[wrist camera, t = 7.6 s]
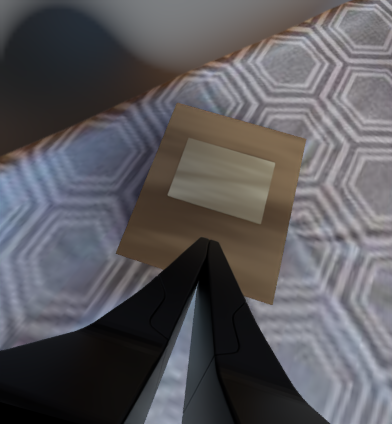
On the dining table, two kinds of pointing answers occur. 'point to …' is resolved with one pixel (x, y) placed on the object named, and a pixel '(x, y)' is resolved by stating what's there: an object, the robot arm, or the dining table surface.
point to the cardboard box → (218, 196)
